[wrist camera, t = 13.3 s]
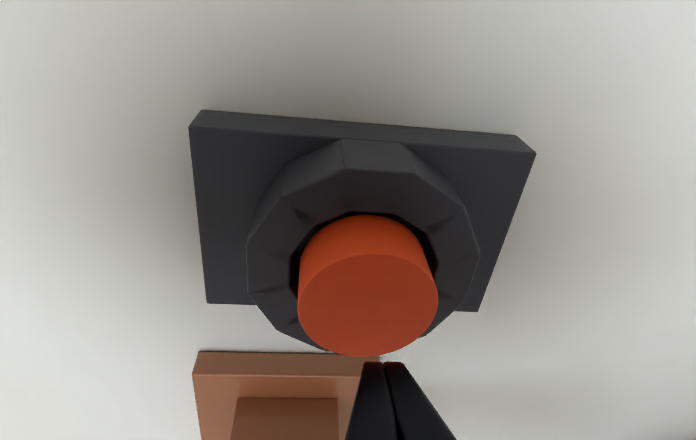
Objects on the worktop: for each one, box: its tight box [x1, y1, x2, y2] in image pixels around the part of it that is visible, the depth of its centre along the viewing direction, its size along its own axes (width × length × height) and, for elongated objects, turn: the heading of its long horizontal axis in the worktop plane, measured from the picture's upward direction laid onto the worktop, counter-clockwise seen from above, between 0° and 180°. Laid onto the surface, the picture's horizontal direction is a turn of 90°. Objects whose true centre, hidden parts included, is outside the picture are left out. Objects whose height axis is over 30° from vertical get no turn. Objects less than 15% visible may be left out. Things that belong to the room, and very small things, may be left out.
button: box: [297, 215, 438, 357], centre depth 11 cm, size 4×4×2 cm
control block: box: [188, 110, 536, 351], centre depth 13 cm, size 10×6×4 cm, turn 84°
